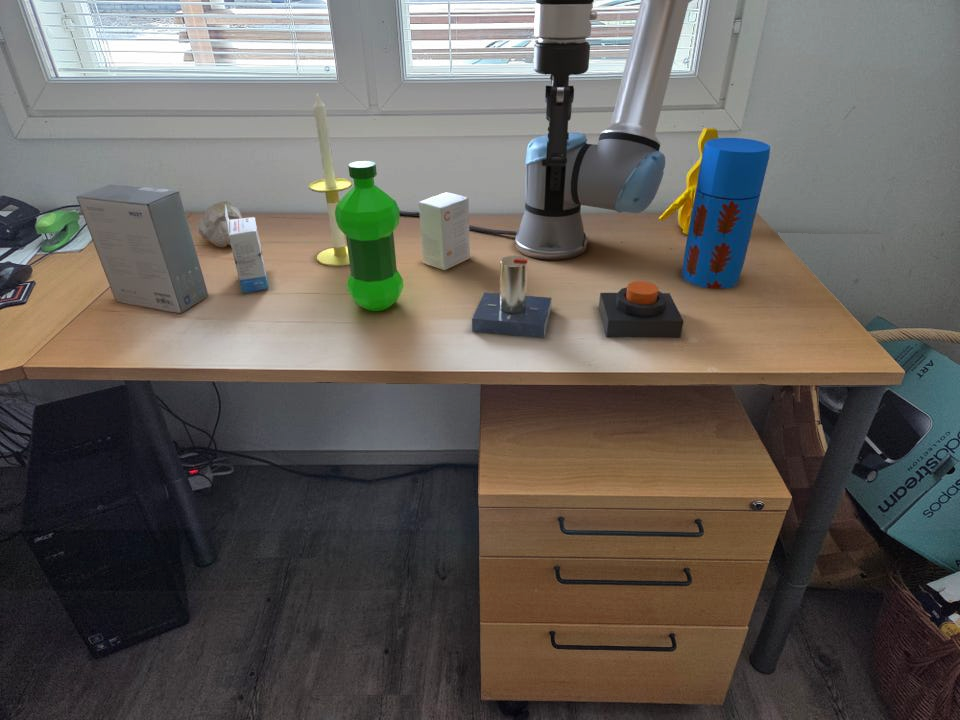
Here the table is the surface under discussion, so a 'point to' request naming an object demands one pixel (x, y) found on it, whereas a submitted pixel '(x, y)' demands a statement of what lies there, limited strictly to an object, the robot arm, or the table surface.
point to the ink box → (247, 253)
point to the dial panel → (512, 317)
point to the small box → (445, 230)
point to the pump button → (642, 292)
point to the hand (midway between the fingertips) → (553, 196)
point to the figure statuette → (690, 186)
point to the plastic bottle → (370, 239)
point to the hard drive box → (144, 246)
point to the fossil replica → (218, 223)
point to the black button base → (639, 316)
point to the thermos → (724, 211)
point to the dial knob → (513, 284)
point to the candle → (329, 191)
